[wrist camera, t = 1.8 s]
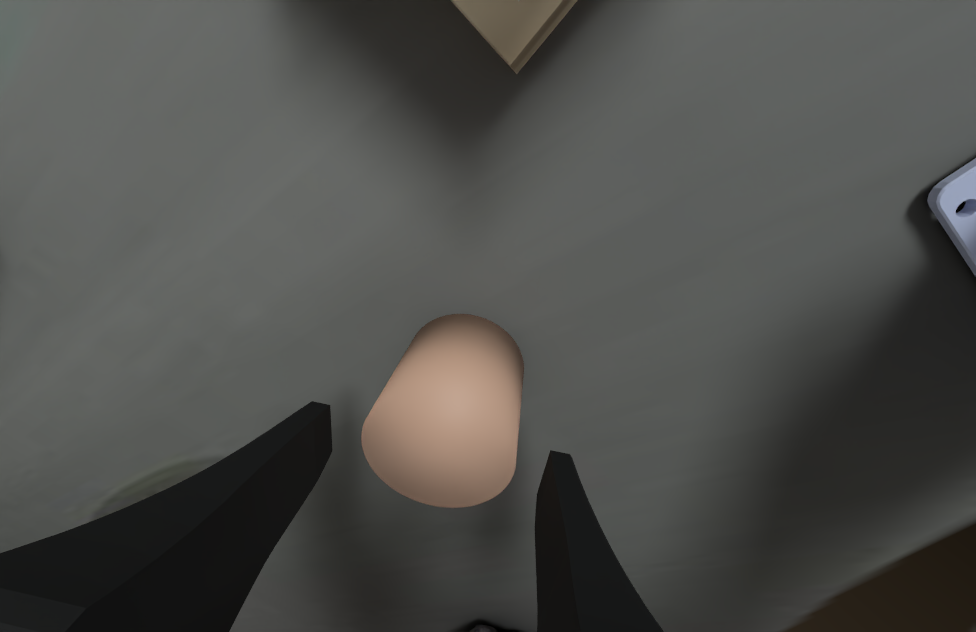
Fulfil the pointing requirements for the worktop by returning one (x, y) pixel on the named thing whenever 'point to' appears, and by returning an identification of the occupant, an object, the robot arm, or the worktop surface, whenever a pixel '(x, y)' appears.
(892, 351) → the worktop surface
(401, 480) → the cylinder
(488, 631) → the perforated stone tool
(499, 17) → the tower base
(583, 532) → the robot arm
